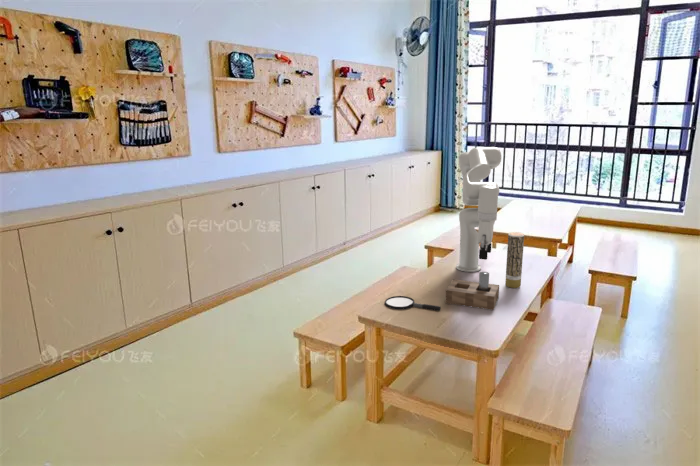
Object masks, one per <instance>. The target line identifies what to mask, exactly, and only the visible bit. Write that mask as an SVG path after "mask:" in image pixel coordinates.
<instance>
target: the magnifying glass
mask: <svg viewBox="0 0 700 466" xmlns="http://www.w3.org/2000/svg"><path fill="white" fill-rule="evenodd" d="M384 305H385V306H386V307H387V308H389V309H392V310H398V311H399V310H400V311H402V310H408V309H411V308H419V309H423V310H424V309H425V310H430V311H435V312H437V311H438V312H440V311H441V309H442V308H441V306H440V305H433V304H427V303H426V304H425V303H417V302H415V300H414V299H413V298H412V297H410V296H409V297H408V296H405V295H394V296H390V297H388V298H386V299H385V301H384Z"/></svg>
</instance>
